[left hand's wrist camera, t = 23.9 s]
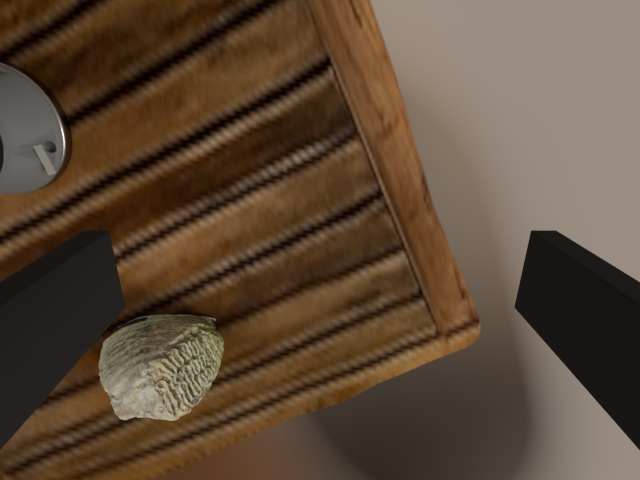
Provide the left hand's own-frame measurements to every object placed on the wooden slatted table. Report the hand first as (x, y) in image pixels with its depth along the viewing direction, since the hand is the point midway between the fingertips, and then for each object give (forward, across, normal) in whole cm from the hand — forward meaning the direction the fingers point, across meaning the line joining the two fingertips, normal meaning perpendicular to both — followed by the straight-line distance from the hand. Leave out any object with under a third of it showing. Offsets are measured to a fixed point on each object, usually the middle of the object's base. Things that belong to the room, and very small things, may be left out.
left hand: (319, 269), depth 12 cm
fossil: (+37, +22, +29) cm, 52 cm away
